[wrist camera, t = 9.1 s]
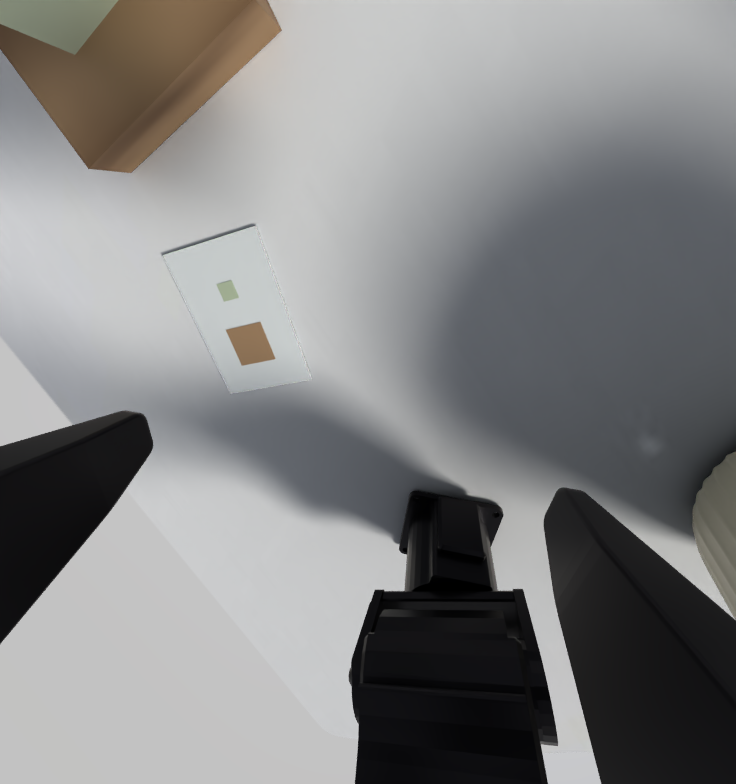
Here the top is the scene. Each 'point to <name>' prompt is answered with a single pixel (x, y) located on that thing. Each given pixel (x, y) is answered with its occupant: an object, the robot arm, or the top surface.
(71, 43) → the pillar
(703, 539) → the canister
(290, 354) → the blueprint card
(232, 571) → the top surface
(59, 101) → the foundation slab
